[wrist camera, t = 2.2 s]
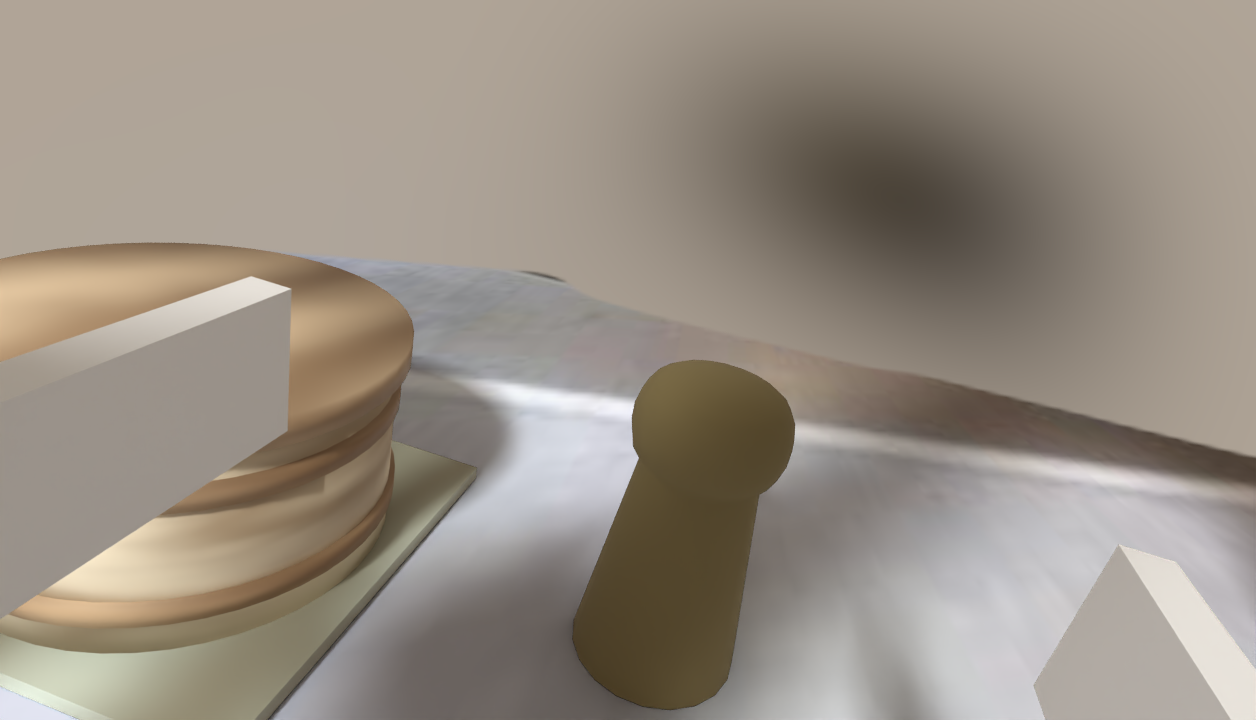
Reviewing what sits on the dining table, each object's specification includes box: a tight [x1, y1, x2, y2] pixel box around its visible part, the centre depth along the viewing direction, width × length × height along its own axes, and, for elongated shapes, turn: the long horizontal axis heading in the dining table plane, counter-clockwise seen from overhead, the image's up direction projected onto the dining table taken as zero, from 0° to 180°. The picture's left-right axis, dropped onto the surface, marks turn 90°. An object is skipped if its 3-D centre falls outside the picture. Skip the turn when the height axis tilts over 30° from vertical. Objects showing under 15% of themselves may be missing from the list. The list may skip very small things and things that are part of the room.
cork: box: [572, 360, 795, 710], centre depth 25 cm, size 6×6×11 cm
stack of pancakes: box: [0, 243, 477, 720], centre depth 26 cm, size 16×16×9 cm
